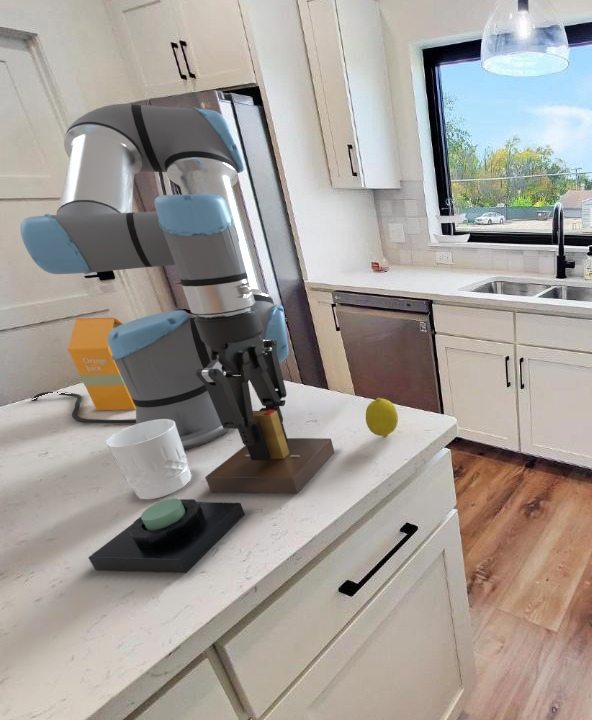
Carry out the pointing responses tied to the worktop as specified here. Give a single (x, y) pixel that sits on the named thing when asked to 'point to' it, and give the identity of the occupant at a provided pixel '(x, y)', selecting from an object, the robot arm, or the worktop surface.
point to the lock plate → (272, 469)
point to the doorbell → (169, 540)
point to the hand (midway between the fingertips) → (270, 450)
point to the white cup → (151, 458)
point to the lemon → (381, 417)
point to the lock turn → (272, 433)
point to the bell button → (163, 514)
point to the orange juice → (99, 364)
